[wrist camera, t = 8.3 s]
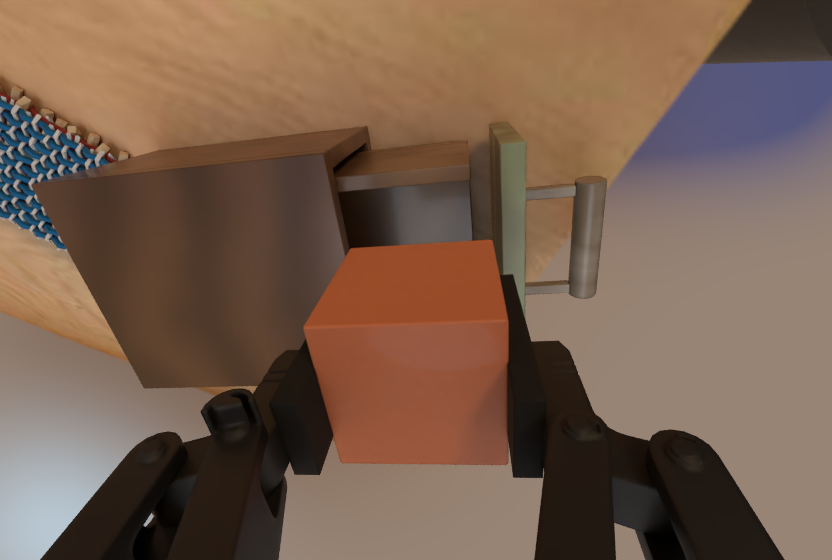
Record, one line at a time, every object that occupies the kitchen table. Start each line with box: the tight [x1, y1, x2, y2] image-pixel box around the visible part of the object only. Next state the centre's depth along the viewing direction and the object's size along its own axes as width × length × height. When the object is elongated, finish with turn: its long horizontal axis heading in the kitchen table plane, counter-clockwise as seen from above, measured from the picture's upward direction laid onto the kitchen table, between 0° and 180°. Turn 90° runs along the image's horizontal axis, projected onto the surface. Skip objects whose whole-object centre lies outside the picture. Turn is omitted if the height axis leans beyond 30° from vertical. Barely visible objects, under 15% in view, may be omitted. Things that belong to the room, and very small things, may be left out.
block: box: [303, 240, 509, 465], centre depth 14 cm, size 5×5×5 cm
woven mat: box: [0, 84, 129, 252], centre depth 30 cm, size 10×11×2 cm
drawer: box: [333, 122, 607, 317], centre depth 25 cm, size 19×13×8 cm, turn 96°
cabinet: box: [31, 126, 371, 388], centre depth 27 cm, size 16×14×10 cm
